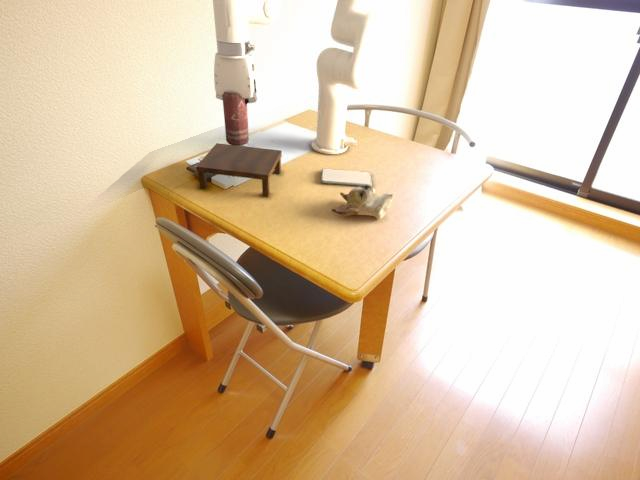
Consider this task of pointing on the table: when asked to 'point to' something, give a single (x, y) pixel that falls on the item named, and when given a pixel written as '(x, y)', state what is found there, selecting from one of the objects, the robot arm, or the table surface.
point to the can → (235, 119)
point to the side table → (240, 164)
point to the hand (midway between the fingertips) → (238, 122)
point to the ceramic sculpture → (365, 202)
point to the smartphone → (346, 177)
